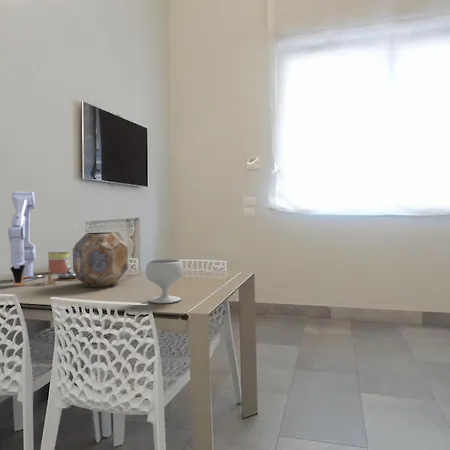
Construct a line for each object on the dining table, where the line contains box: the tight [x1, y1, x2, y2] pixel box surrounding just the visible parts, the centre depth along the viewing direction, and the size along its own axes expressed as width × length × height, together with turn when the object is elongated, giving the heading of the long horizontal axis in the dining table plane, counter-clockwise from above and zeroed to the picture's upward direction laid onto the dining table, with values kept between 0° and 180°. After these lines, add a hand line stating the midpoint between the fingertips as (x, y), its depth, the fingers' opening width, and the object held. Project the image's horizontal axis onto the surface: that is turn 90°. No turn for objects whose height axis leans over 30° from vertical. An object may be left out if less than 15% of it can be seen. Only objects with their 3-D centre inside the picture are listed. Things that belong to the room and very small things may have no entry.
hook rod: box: [13, 272, 46, 287], centre depth 201 cm, size 13×4×6 cm, turn 112°
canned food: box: [47, 249, 71, 275], centre depth 240 cm, size 11×11×12 cm
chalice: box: [145, 258, 184, 304], centre depth 162 cm, size 14×14×15 cm
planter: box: [72, 231, 129, 288], centre depth 198 cm, size 22×24×24 cm
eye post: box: [43, 268, 56, 286], centre depth 204 cm, size 5×10×6 cm, turn 22°
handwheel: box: [57, 266, 76, 279], centre depth 217 cm, size 10×10×4 cm
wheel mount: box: [51, 277, 78, 282], centre depth 217 cm, size 11×11×1 cm
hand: (18, 282), depth 199 cm, fingers closed on hook rod, 4 cm apart
